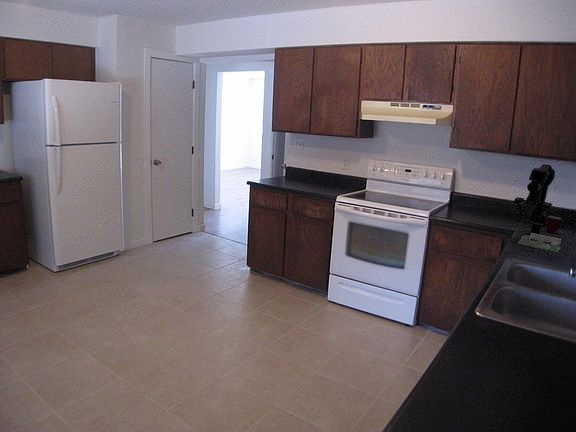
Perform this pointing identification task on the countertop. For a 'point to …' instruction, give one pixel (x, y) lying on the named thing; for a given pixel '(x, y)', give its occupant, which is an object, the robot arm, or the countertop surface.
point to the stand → (539, 244)
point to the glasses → (546, 238)
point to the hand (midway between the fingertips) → (529, 217)
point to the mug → (552, 224)
